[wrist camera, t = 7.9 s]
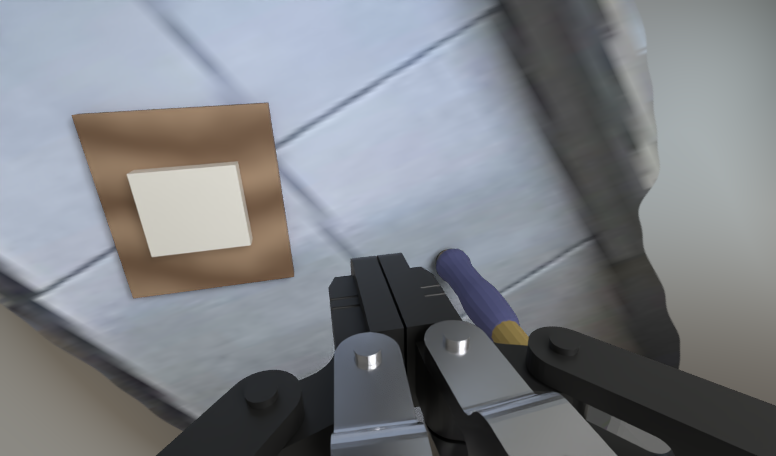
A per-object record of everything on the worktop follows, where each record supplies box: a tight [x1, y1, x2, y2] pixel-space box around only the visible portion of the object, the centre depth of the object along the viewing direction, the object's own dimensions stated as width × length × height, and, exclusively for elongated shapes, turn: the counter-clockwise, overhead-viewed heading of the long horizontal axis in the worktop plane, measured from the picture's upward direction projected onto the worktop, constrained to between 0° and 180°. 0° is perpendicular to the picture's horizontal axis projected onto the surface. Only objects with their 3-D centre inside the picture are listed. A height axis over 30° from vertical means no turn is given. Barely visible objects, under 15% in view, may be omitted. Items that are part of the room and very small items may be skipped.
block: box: [127, 161, 253, 257], centre depth 37 cm, size 8×2×9 cm
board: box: [72, 103, 294, 298], centre depth 38 cm, size 18×16×1 cm
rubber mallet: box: [436, 249, 671, 454], centre depth 33 cm, size 12×8×30 cm, turn 41°
